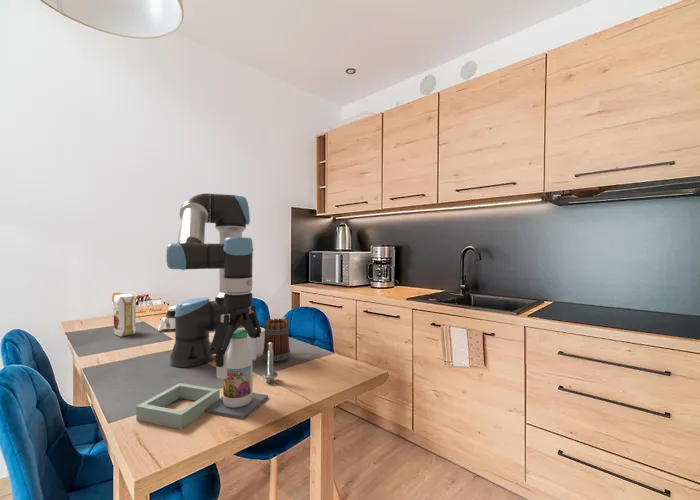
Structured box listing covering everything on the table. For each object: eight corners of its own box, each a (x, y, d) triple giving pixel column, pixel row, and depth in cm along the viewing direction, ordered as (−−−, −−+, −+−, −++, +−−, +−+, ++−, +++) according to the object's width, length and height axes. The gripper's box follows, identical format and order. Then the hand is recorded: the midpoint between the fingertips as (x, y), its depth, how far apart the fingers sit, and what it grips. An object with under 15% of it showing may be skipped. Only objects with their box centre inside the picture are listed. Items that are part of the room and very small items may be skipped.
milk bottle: (227, 395, 92) (228, 327, 92) (254, 394, 93) (255, 327, 93) (219, 409, 85) (219, 335, 84) (248, 408, 85) (249, 334, 85)
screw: (277, 377, 107) (278, 383, 102) (262, 379, 106) (262, 385, 101) (277, 339, 107) (278, 343, 102) (262, 340, 105) (262, 345, 101)
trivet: (204, 412, 85) (204, 409, 85) (232, 392, 96) (232, 389, 96) (243, 419, 82) (243, 416, 82) (267, 397, 93) (267, 395, 93)
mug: (283, 365, 118) (283, 325, 117) (257, 362, 120) (257, 323, 120) (298, 351, 133) (299, 315, 133) (275, 349, 135) (275, 314, 135)
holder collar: (136, 419, 81) (136, 406, 81) (179, 394, 94) (179, 382, 94) (181, 429, 77) (181, 414, 77) (219, 401, 91) (219, 389, 90)
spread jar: (188, 329, 164) (188, 306, 164) (166, 334, 155) (166, 310, 155) (175, 325, 171) (176, 304, 171) (153, 330, 161) (153, 307, 161)
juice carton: (130, 330, 160) (130, 293, 160) (137, 333, 155) (137, 295, 154) (112, 334, 154) (112, 295, 153) (119, 337, 149) (119, 297, 148)
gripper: (220, 301, 75) (219, 389, 76) (272, 287, 99) (272, 354, 100) (193, 299, 77) (193, 385, 78) (251, 285, 101) (251, 351, 102)
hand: (237, 368), depth 89 cm, fingers open, 13 cm apart
